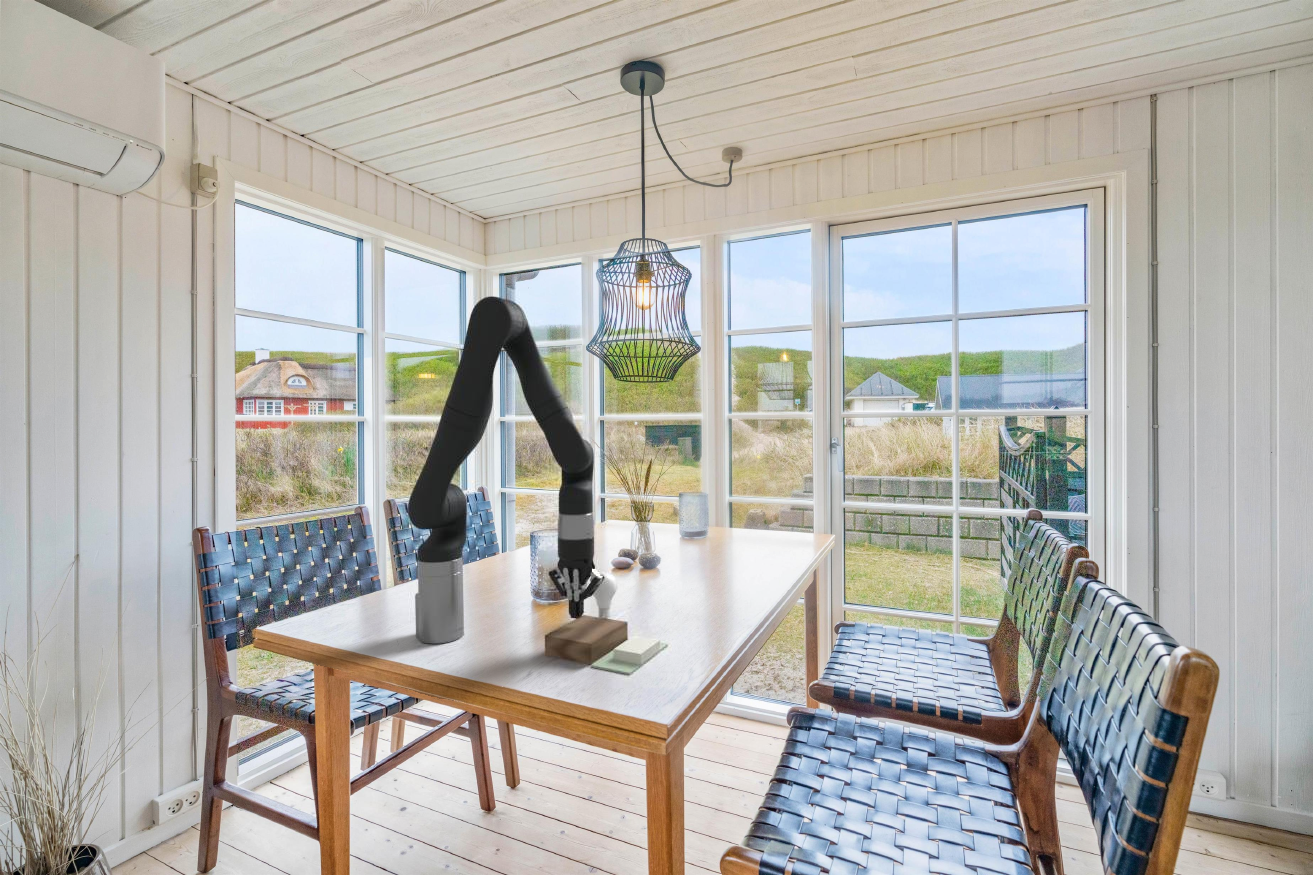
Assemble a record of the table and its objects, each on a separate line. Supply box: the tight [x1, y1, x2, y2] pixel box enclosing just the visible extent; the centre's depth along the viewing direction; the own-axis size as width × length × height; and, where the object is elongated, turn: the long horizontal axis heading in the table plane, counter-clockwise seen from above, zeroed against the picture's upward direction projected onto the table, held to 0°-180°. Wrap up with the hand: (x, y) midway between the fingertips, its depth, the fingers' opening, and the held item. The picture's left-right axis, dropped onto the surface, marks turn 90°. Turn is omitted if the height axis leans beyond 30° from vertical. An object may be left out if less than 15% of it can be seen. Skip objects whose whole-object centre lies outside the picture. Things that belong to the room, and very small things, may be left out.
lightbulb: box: [592, 571, 618, 619], centre depth 142 cm, size 6×6×11 cm
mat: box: [590, 641, 669, 676], centre depth 119 cm, size 8×16×1 cm, turn 153°
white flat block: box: [614, 635, 661, 664], centre depth 119 cm, size 6×8×2 cm
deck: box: [544, 614, 629, 666], centre depth 124 cm, size 11×14×4 cm
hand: (576, 617), depth 125 cm, fingers closed
